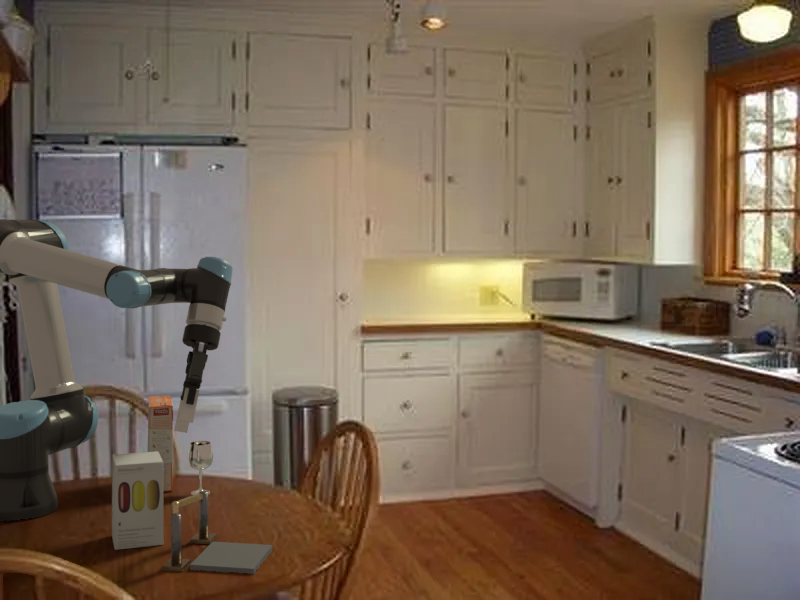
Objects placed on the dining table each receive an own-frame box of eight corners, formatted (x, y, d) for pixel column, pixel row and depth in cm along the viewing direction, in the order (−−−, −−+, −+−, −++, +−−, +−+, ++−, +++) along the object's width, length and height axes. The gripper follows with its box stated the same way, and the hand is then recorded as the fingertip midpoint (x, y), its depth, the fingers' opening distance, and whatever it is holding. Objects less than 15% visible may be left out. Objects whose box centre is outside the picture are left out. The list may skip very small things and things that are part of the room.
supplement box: (113, 551, 164) (112, 465, 163) (111, 535, 172) (109, 453, 171) (165, 545, 167) (164, 460, 166) (159, 529, 176) (159, 449, 175)
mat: (190, 570, 155) (190, 564, 155) (213, 546, 167) (212, 541, 167) (253, 574, 153) (253, 568, 153) (272, 550, 165) (272, 545, 165)
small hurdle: (152, 569, 155) (151, 516, 154) (189, 535, 173) (189, 487, 172) (182, 571, 154) (182, 517, 153) (216, 537, 172) (216, 488, 171)
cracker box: (174, 491, 202) (173, 405, 200) (148, 493, 200) (147, 406, 199) (172, 476, 215) (172, 394, 214) (148, 477, 214) (147, 395, 212)
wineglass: (189, 489, 204) (189, 440, 203) (214, 489, 204) (214, 440, 204) (186, 496, 198) (186, 446, 197) (211, 496, 199) (211, 445, 198)
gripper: (228, 316, 170) (207, 420, 163) (214, 345, 193) (196, 438, 186) (190, 308, 168) (168, 413, 161) (181, 339, 191) (161, 432, 184)
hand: (183, 426), depth 173 cm, fingers open, 13 cm apart
